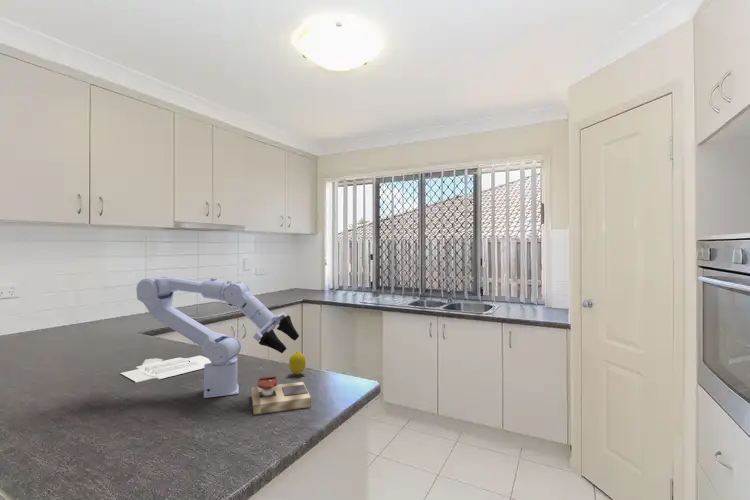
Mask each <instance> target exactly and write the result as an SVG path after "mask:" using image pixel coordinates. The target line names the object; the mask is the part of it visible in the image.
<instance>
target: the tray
mask: <svg viewBox="0 0 750 500" xmlns="http://www.w3.org/2000/svg"><path fill="white" fill-rule="evenodd" d="M189 361H190V362H189ZM208 363H212V362H211V361H210V360H209V358H208V357H207V356H203V355H195V356H191V357H187V358H186V357H184V358H183V357H176V358H170V359H165V360H164V359H163V358H156V357H155V358H154V357H153V358H152V357H151V358H149V359H148V358H146V359H145V360H144V361H143V362H142V364H141V365H137V366H135V368H136V369H133V370H129V371H123V372H120V373H119V374H121V375H123V376H124V377H126V378H128V379H130V380H132V381H134V383H135V384H136V383H140V382H144V381H148V380H152V379H156V380H159V381H161V380H162V379H166V378H170V377H174V376H178V375H181V374H186V373H190V372H193V371H194V372H195V371H197V370H202V369H204V367H205V364H208Z"/></svg>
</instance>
